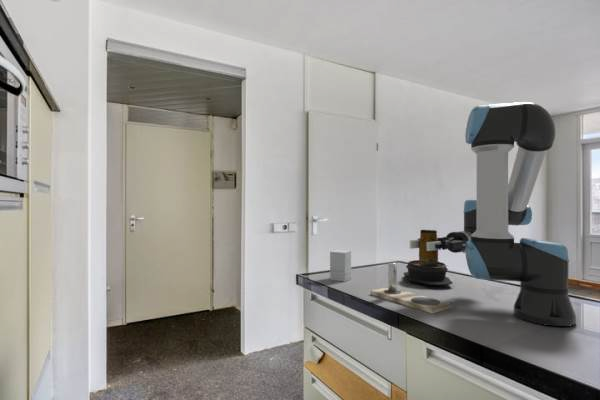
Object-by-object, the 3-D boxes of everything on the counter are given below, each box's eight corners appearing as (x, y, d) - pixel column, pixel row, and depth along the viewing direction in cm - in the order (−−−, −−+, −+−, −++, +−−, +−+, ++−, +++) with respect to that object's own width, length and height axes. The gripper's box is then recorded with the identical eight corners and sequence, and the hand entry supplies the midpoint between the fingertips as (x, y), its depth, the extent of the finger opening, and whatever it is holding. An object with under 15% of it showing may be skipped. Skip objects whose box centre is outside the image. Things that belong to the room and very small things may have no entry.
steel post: (398, 296, 125) (398, 263, 125) (392, 297, 123) (392, 264, 123) (391, 294, 127) (392, 262, 127) (386, 295, 125) (386, 263, 125)
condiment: (425, 263, 121) (425, 229, 121) (448, 266, 114) (448, 230, 114) (413, 265, 116) (413, 229, 116) (436, 268, 109) (436, 231, 110)
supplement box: (351, 278, 153) (351, 250, 153) (344, 282, 147) (344, 252, 147) (336, 276, 157) (337, 249, 157) (329, 279, 151) (329, 251, 151)
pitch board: (450, 307, 111) (450, 302, 111) (432, 313, 106) (432, 308, 106) (388, 290, 133) (388, 286, 133) (370, 294, 127) (370, 289, 127)
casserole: (393, 276, 158) (393, 258, 158) (430, 275, 161) (430, 257, 162) (421, 290, 134) (421, 269, 134) (464, 288, 137) (464, 267, 137)
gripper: (485, 255, 118) (444, 261, 105) (437, 249, 134) (396, 253, 121) (485, 233, 118) (444, 236, 105) (437, 229, 134) (396, 232, 121)
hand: (419, 245), depth 113 cm, fingers closed on condiment, 6 cm apart
